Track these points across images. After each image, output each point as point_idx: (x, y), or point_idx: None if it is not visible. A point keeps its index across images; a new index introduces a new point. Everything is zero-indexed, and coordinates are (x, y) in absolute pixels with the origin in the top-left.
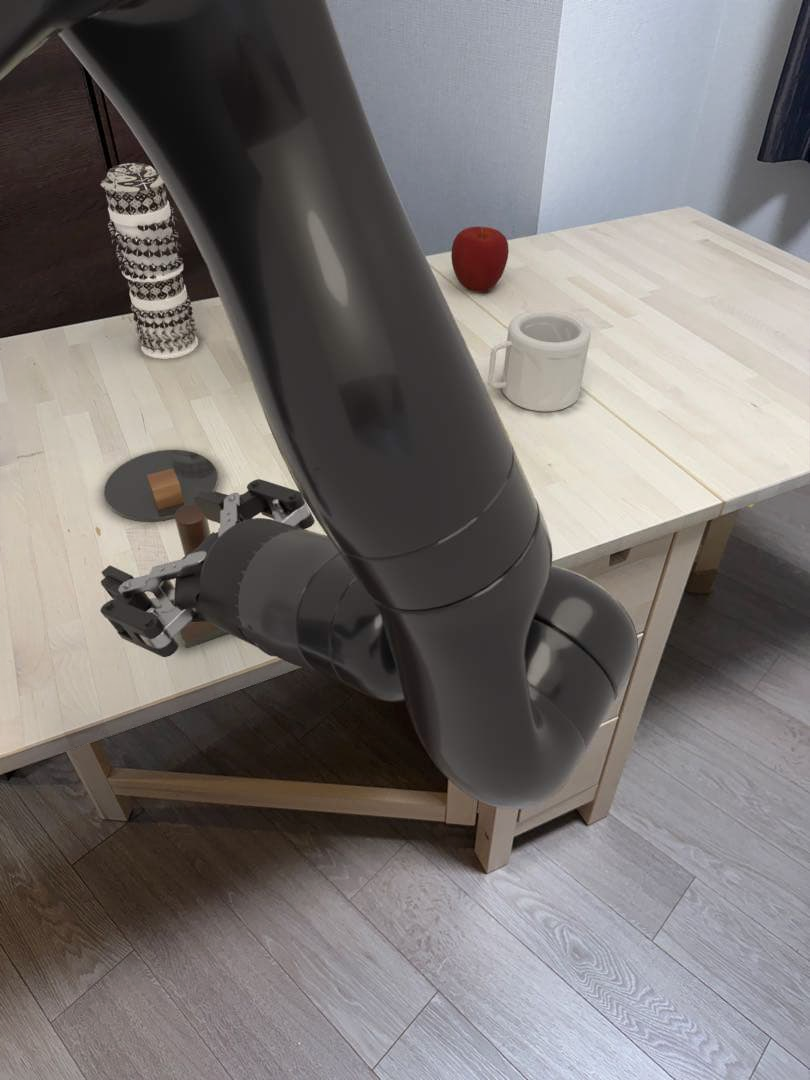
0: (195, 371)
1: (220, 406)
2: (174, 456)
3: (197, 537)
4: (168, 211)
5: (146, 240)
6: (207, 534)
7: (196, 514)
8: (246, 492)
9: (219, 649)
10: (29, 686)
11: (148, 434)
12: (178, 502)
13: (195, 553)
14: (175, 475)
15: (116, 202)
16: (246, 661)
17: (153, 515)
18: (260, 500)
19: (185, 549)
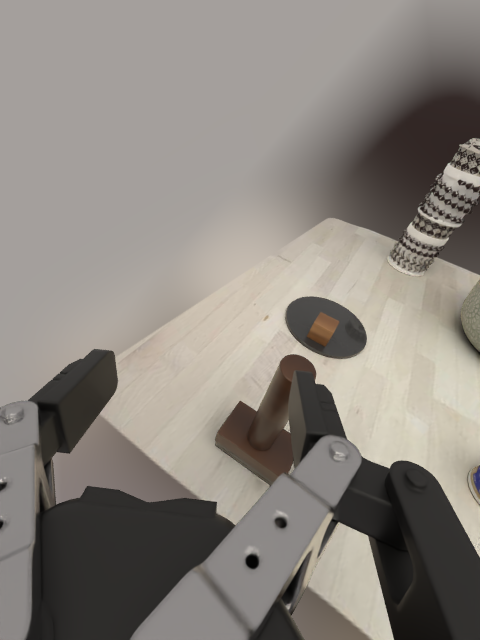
0: (406, 286)
1: (404, 314)
2: (348, 316)
3: (283, 395)
4: None
5: (455, 192)
6: None
7: None
8: (378, 467)
9: (230, 475)
10: (128, 363)
11: (347, 294)
12: (322, 343)
13: (21, 593)
14: (336, 326)
15: (459, 158)
16: (232, 514)
17: (300, 336)
18: (393, 523)
19: (268, 390)
